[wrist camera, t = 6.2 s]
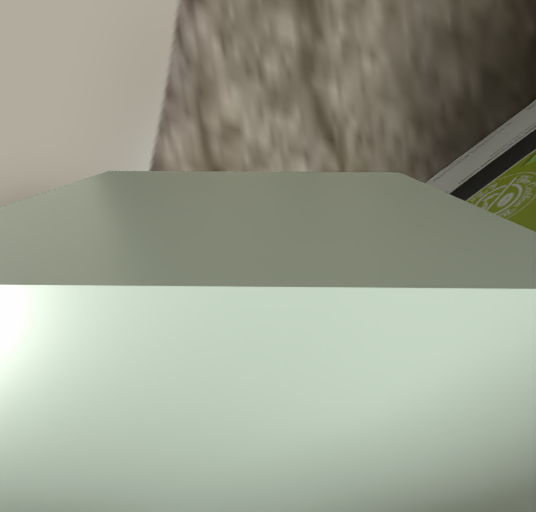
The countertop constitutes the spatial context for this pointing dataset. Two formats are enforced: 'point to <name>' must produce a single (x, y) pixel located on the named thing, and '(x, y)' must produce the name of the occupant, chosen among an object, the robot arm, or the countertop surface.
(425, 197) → the mint green rectangular block
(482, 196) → the tea box
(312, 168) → the countertop surface
